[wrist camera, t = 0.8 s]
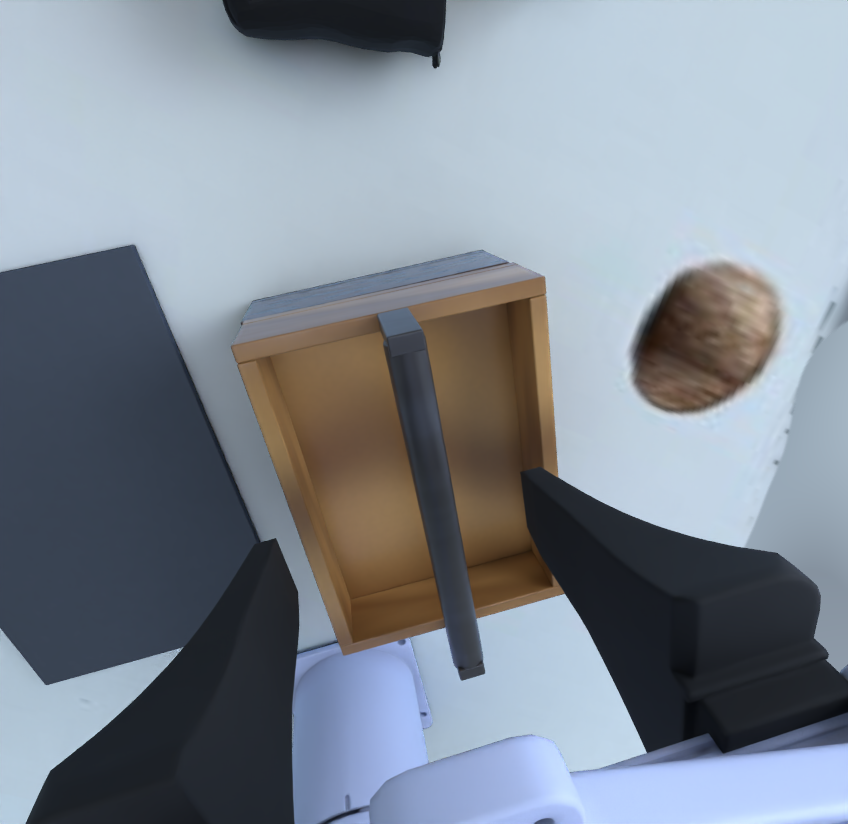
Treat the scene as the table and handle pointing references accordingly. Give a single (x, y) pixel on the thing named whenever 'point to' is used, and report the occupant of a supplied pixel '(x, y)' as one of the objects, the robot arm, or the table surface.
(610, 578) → the robot arm
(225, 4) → the tape measure
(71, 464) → the mat
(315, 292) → the dark brown wooden box
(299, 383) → the box
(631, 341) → the table surface
